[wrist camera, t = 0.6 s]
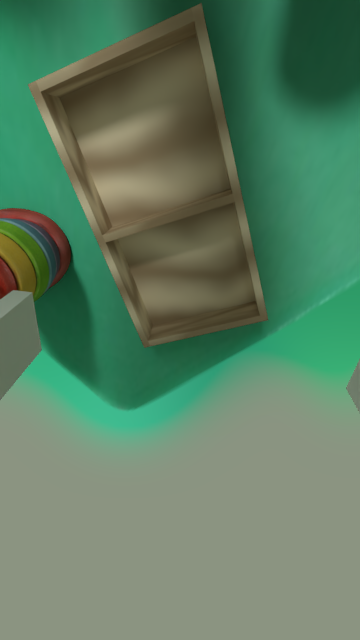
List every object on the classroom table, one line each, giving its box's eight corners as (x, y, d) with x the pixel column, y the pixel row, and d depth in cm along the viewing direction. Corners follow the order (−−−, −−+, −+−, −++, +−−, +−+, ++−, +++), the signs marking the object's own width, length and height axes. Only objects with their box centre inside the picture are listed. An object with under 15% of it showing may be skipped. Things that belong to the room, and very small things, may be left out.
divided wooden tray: (51, 92, 31) (27, 84, 27) (202, 23, 27) (201, 3, 23) (150, 329, 43) (144, 347, 39) (262, 302, 40) (268, 320, 36)
